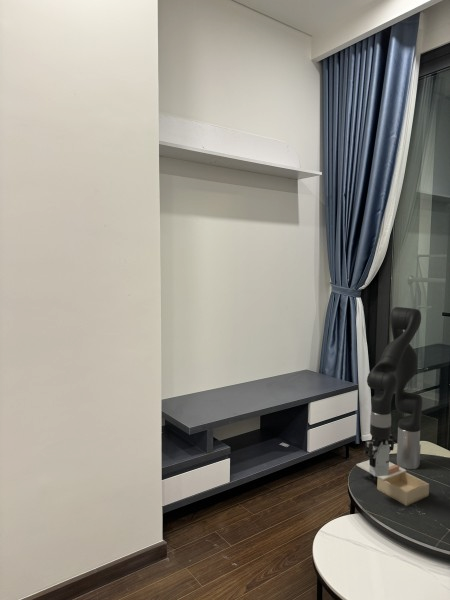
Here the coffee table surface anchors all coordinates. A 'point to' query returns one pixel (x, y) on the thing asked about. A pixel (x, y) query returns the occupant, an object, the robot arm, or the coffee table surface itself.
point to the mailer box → (404, 488)
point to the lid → (393, 469)
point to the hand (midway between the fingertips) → (379, 463)
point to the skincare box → (381, 462)
